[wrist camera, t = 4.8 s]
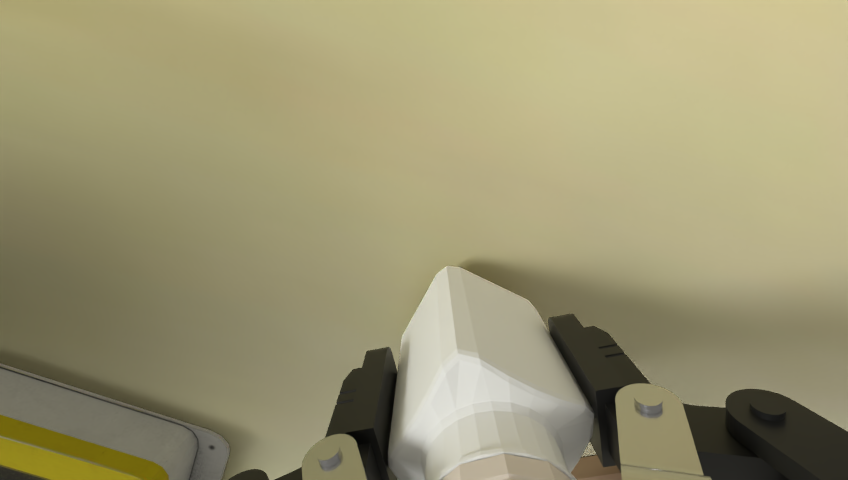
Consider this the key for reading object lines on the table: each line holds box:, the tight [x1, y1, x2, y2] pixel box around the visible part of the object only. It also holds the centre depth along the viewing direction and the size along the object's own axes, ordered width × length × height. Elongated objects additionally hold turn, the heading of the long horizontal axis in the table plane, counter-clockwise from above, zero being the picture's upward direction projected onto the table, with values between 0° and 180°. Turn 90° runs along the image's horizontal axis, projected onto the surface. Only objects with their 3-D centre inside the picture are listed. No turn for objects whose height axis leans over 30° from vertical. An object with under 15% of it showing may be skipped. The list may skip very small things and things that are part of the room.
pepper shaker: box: [388, 265, 594, 480], centre depth 10 cm, size 4×4×10 cm
